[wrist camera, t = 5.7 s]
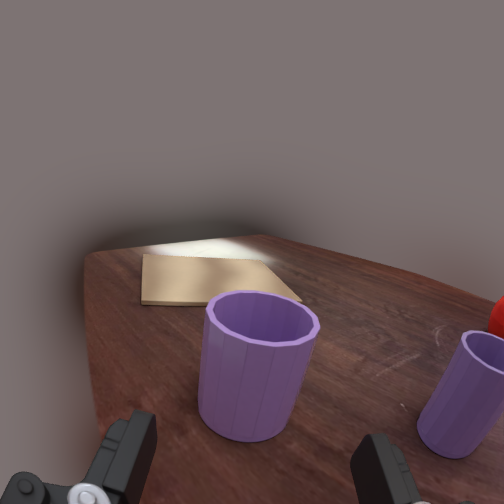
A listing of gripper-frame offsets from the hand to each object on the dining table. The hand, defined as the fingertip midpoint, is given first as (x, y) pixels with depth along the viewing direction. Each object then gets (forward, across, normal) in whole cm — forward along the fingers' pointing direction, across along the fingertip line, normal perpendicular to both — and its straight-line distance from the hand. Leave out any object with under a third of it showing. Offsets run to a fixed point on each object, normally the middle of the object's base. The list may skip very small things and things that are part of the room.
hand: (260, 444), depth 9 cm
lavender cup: (+8, 0, +7) cm, 11 cm away
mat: (+32, +5, +7) cm, 33 cm away
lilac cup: (+5, -17, +7) cm, 19 cm away
